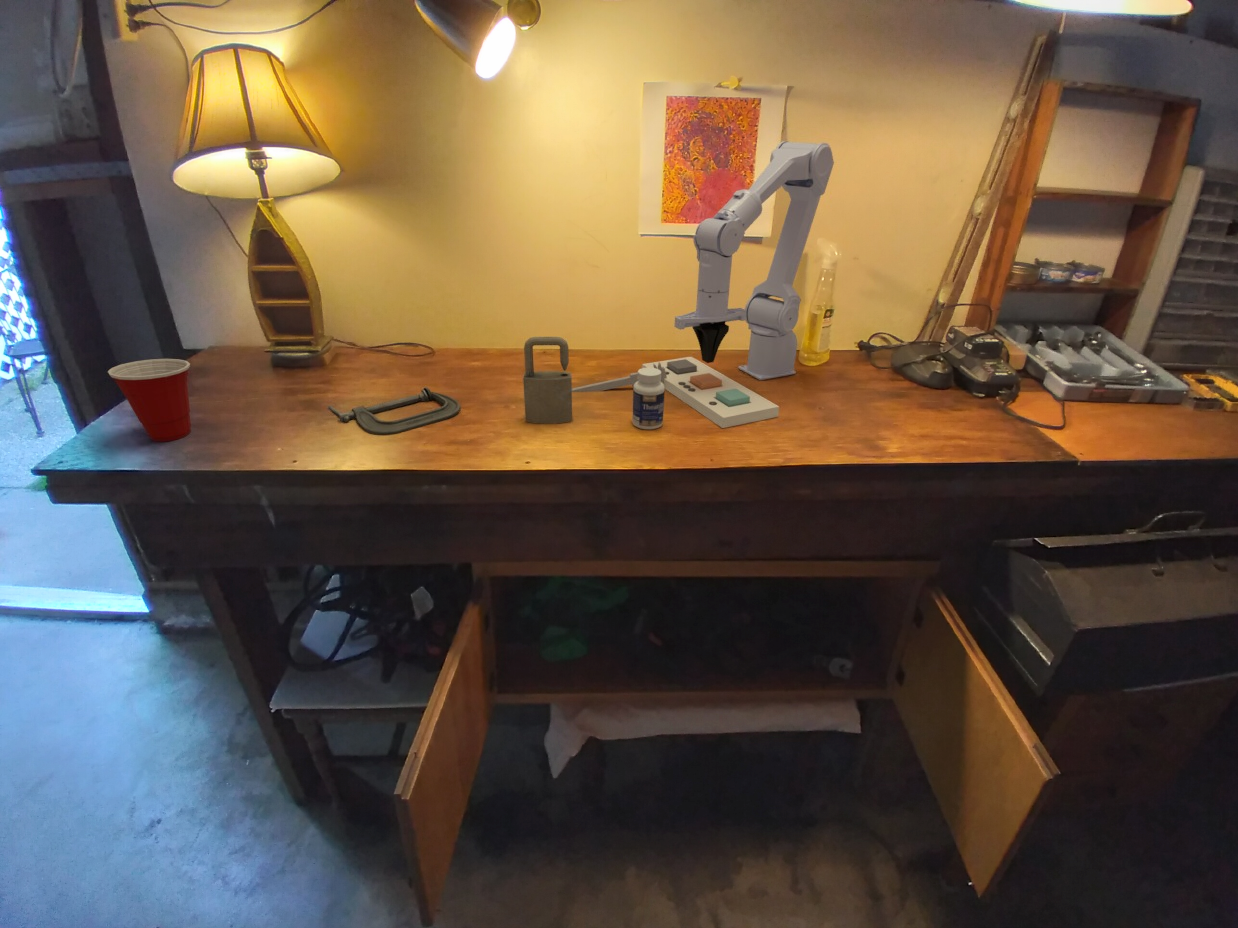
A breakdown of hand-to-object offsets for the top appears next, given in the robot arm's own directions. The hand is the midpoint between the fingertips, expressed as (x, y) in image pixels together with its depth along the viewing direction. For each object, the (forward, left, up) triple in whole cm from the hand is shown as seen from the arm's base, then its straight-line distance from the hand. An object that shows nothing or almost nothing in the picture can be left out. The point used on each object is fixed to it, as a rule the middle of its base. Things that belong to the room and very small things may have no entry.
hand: (707, 361), depth 125 cm
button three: (0, 0, -7) cm, 7 cm away
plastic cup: (+91, -21, -7) cm, 94 cm away
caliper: (+15, -9, -8) cm, 19 cm away
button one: (0, +9, -6) cm, 11 cm away
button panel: (0, 0, -7) cm, 7 cm away
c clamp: (+56, -15, -7) cm, 58 cm away
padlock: (+32, -1, -7) cm, 33 cm away
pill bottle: (+17, +8, -7) cm, 20 cm away
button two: (0, -9, -6) cm, 11 cm away
